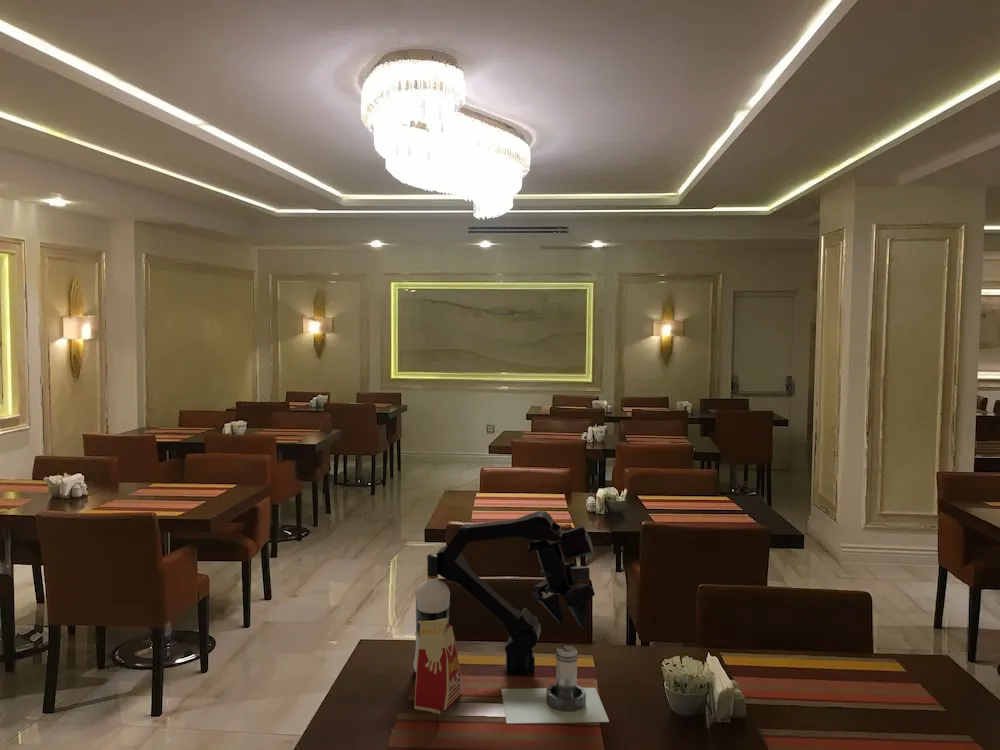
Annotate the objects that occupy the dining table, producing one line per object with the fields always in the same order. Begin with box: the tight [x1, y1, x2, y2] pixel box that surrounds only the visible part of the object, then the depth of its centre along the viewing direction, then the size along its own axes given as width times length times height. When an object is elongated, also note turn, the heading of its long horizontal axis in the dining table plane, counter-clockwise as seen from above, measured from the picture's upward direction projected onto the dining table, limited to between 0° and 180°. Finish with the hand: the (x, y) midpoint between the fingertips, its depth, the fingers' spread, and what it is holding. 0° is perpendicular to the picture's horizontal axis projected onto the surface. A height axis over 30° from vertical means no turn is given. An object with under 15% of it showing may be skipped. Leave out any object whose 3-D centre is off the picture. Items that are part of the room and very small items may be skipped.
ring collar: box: [546, 683, 586, 712], centre depth 180 cm, size 9×9×2 cm
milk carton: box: [414, 616, 463, 715], centre depth 181 cm, size 9×9×20 cm
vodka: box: [413, 553, 451, 673], centre depth 194 cm, size 9×9×30 cm
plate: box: [500, 687, 610, 725], centre depth 179 cm, size 22×16×1 cm
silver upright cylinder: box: [555, 645, 579, 699], centre depth 180 cm, size 5×5×12 cm
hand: (572, 625), depth 194 cm, fingers open, 9 cm apart
